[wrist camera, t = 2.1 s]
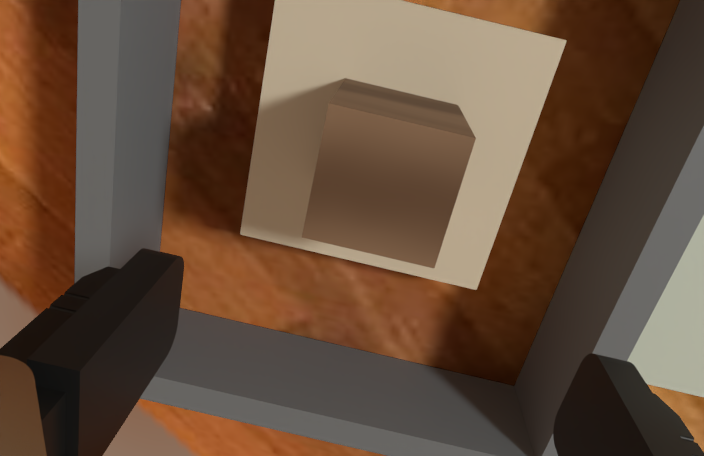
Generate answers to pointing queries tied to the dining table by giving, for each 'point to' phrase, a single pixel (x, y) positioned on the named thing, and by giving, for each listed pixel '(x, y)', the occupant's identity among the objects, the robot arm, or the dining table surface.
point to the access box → (451, 267)
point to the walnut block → (388, 172)
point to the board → (677, 327)
